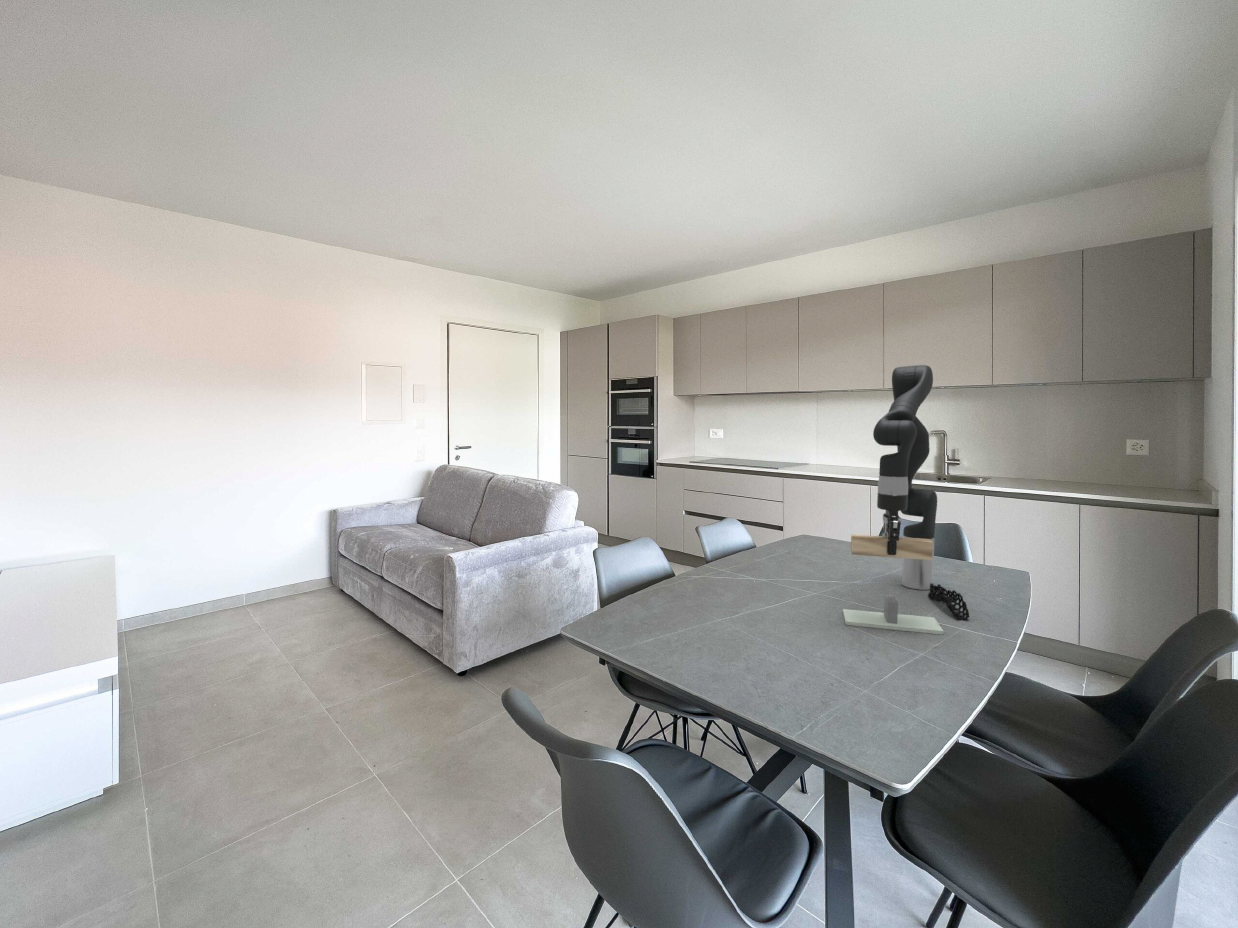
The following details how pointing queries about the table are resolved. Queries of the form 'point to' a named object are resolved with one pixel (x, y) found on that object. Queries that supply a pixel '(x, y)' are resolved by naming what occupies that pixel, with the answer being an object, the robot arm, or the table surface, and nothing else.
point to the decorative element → (949, 600)
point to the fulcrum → (892, 619)
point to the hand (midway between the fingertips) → (890, 552)
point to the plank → (905, 548)
